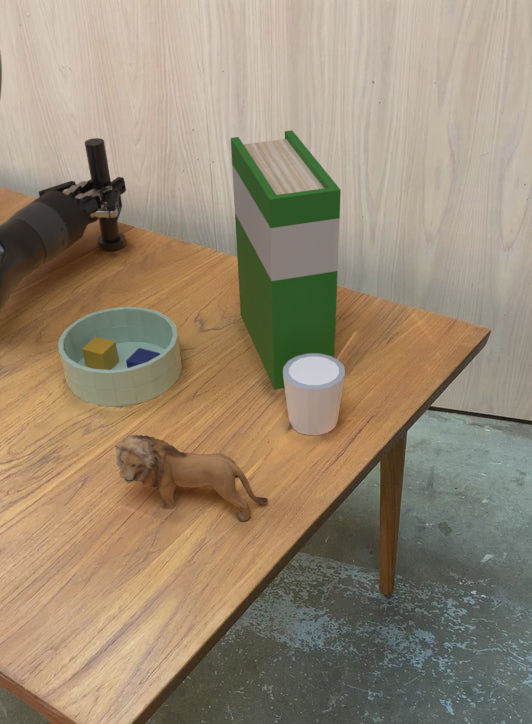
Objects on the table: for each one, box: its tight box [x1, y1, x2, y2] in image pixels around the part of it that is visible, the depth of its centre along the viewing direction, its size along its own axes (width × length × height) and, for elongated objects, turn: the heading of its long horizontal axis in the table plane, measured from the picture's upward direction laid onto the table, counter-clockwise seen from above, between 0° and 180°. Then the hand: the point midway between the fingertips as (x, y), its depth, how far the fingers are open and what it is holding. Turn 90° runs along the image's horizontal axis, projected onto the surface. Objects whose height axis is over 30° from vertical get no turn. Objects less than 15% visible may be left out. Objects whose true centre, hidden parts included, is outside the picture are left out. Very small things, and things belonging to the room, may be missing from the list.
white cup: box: [283, 353, 346, 436], centre depth 88 cm, size 7×7×7 cm
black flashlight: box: [84, 137, 127, 252], centre depth 118 cm, size 4×4×16 cm
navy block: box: [126, 348, 160, 368], centre depth 95 cm, size 3×3×3 cm
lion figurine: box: [114, 434, 269, 522], centre depth 77 cm, size 15×5×9 cm, turn 90°
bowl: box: [58, 306, 183, 408], centre depth 96 cm, size 14×14×6 cm
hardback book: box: [230, 129, 342, 390], centre depth 92 cm, size 18×7×24 cm, turn 15°
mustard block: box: [82, 337, 119, 370], centre depth 97 cm, size 3×3×3 cm
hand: (112, 181), depth 119 cm, fingers closed on black flashlight, 3 cm apart
